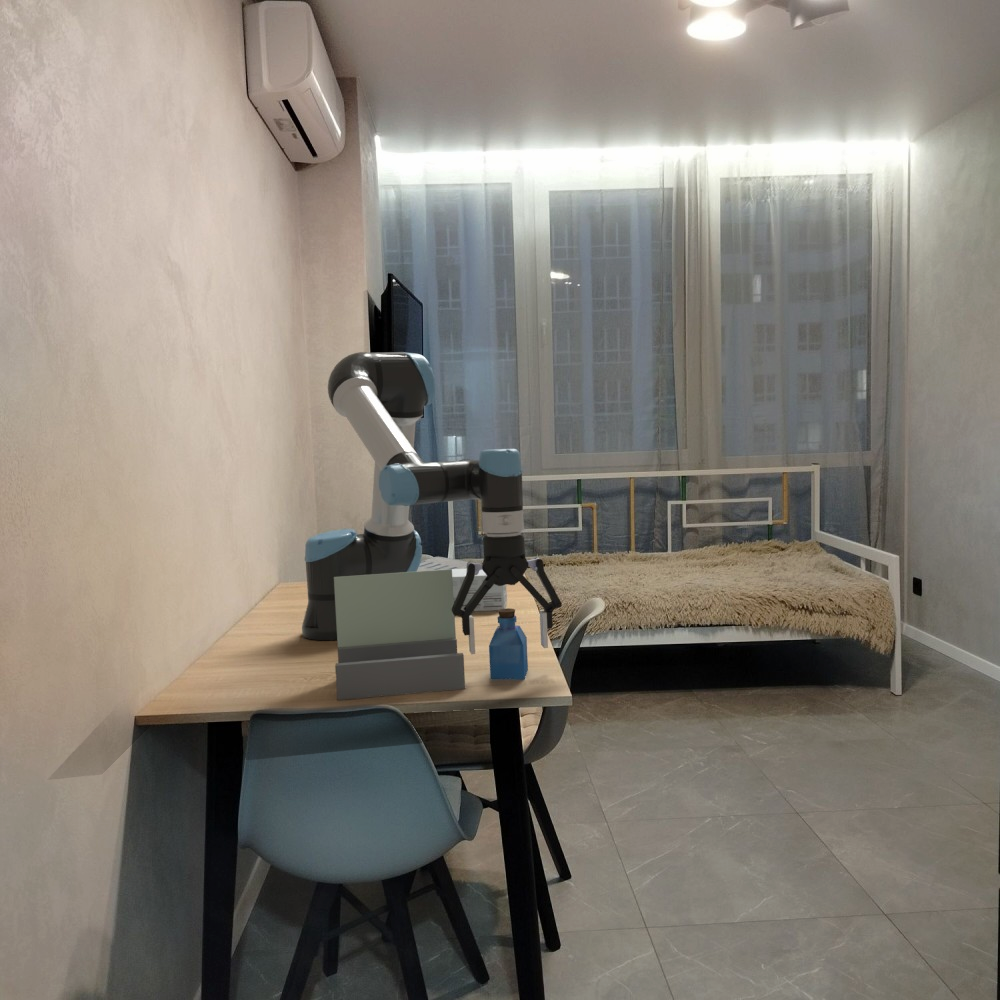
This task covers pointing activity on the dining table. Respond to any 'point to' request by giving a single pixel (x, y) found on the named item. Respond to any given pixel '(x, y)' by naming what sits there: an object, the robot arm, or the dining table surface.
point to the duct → (399, 669)
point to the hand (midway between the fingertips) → (508, 649)
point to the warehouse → (441, 564)
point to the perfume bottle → (508, 648)
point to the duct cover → (394, 607)
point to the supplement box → (490, 601)
